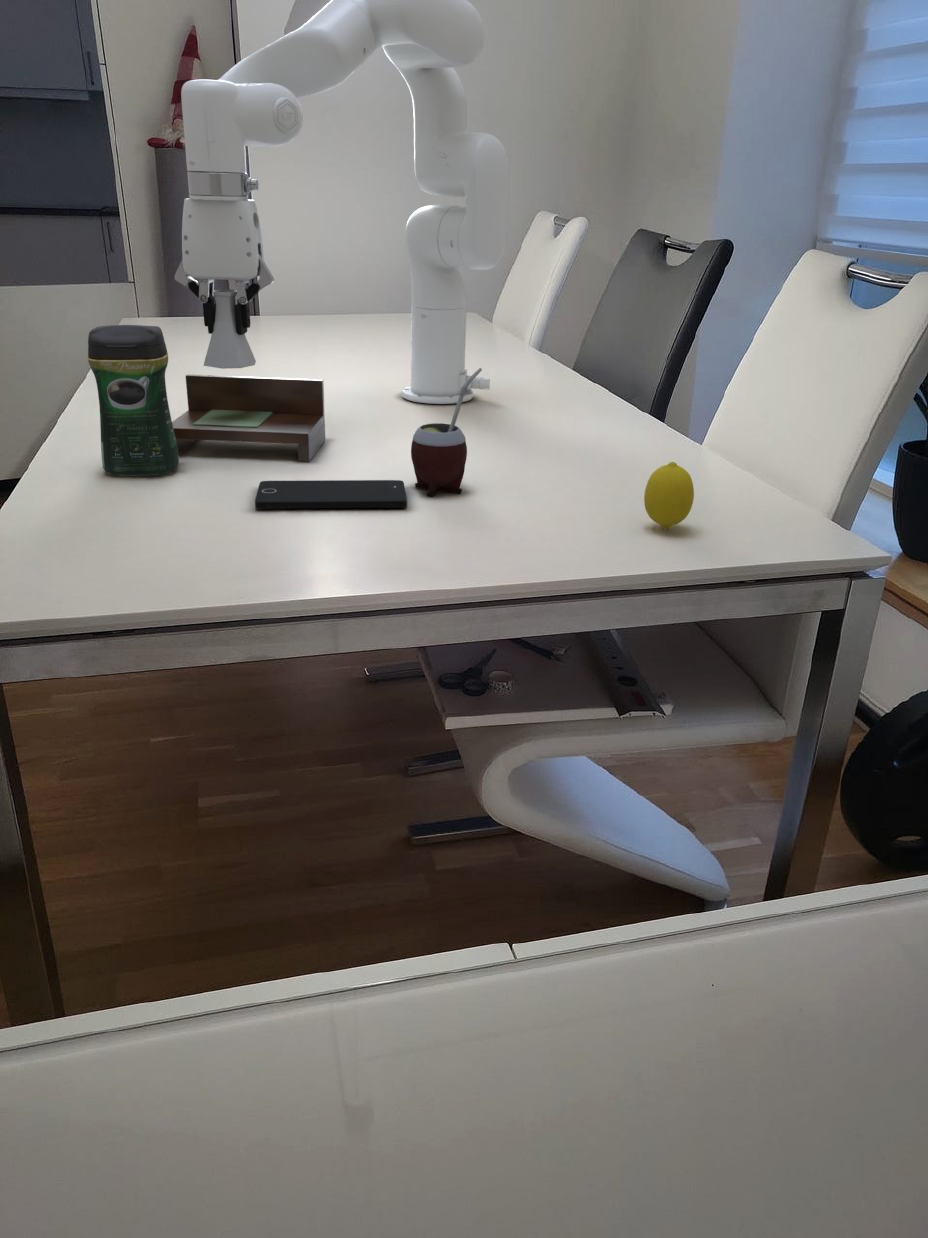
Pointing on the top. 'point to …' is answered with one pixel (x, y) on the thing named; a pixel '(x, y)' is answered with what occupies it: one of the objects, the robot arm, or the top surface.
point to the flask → (227, 336)
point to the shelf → (253, 412)
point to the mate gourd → (441, 453)
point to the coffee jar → (133, 399)
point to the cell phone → (331, 494)
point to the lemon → (669, 495)
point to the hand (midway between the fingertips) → (227, 331)
